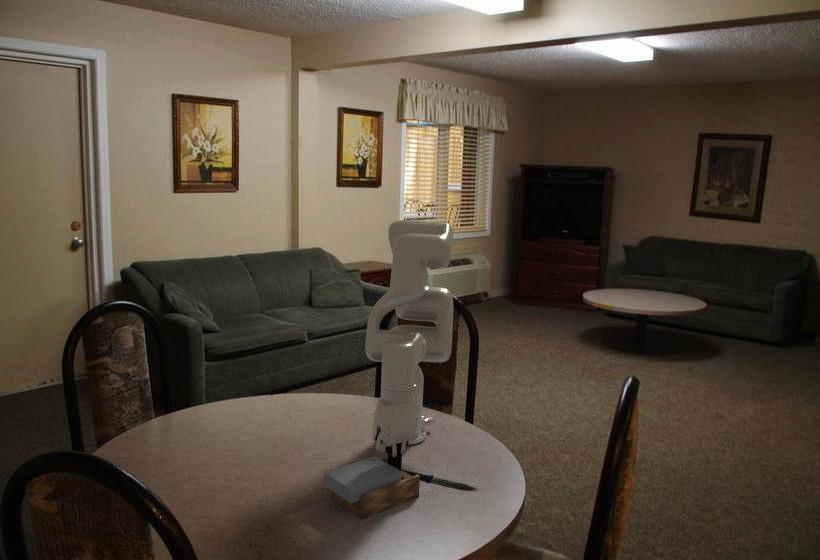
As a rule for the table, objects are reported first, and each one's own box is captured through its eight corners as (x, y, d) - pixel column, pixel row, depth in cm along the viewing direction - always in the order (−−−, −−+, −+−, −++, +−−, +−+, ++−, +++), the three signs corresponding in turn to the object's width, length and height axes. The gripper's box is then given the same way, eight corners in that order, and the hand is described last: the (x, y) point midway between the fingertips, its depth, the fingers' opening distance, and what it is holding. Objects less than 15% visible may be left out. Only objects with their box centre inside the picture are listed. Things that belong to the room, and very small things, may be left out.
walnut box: (386, 476, 156) (386, 456, 156) (418, 497, 148) (419, 475, 147) (330, 496, 146) (331, 474, 145) (362, 519, 137) (362, 496, 136)
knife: (394, 472, 158) (399, 466, 160) (394, 477, 158) (399, 471, 161) (476, 490, 150) (480, 483, 153) (476, 495, 150) (479, 489, 153)
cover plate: (374, 468, 152) (374, 456, 151) (401, 484, 145) (402, 471, 144) (324, 485, 143) (324, 472, 142) (350, 503, 136) (351, 490, 135)
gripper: (411, 383, 154) (408, 455, 157) (361, 395, 144) (358, 472, 147) (432, 392, 148) (429, 467, 151) (382, 405, 139) (378, 485, 142)
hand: (394, 469), depth 149 cm, fingers closed
